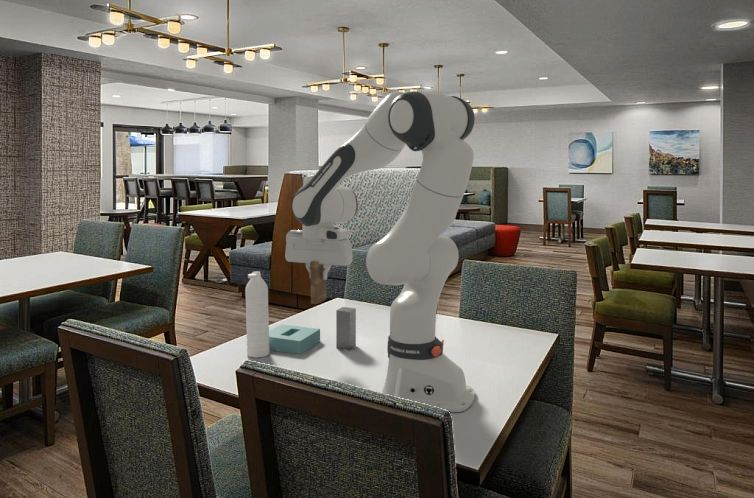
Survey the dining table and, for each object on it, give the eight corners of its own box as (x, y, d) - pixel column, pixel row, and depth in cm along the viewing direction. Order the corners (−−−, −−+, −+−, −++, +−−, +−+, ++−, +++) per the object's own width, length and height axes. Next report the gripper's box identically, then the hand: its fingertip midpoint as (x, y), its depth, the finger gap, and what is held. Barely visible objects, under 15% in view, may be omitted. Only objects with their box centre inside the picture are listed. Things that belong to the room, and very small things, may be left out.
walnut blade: (326, 299, 159) (326, 259, 157) (317, 303, 153) (316, 262, 151) (320, 298, 159) (320, 258, 158) (310, 303, 154) (310, 262, 152)
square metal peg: (355, 345, 168) (355, 308, 166) (349, 350, 164) (349, 311, 162) (342, 343, 169) (342, 306, 167) (336, 348, 165) (336, 310, 163)
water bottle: (250, 350, 163) (247, 269, 159) (271, 350, 162) (269, 269, 159) (242, 360, 154) (239, 275, 150) (265, 361, 154) (262, 275, 150)
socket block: (320, 341, 172) (320, 329, 171) (300, 354, 160) (300, 341, 159) (282, 335, 177) (281, 324, 176) (259, 348, 165) (259, 335, 164)
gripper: (280, 230, 154) (281, 278, 156) (345, 234, 147) (345, 283, 149) (291, 228, 160) (292, 274, 162) (354, 231, 153) (354, 279, 155)
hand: (318, 278), depth 155 cm, fingers closed on walnut blade, 2 cm apart
